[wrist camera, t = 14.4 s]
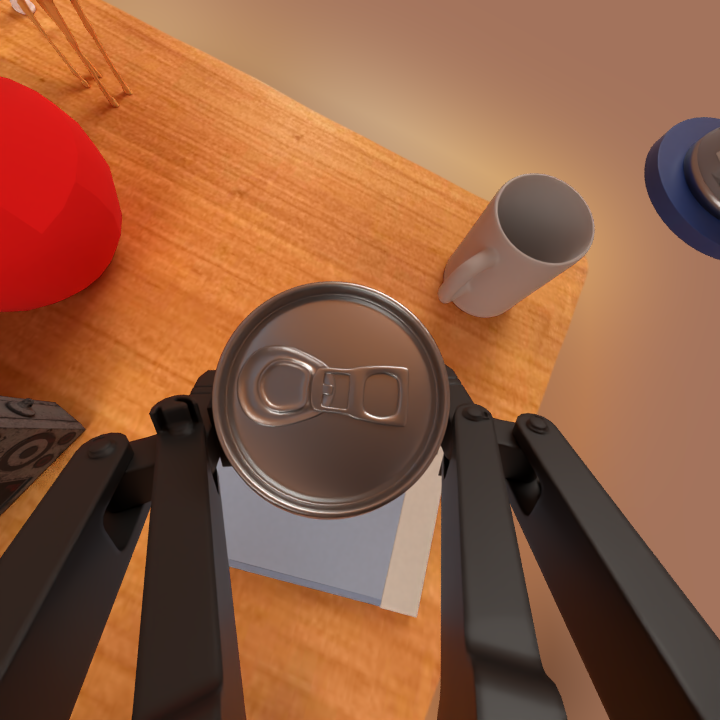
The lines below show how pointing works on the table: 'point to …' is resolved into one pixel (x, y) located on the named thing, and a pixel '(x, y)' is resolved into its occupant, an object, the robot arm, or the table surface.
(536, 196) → the mug
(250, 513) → the blue flat rectangular slab
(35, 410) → the camera
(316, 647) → the table surface
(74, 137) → the vase
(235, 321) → the table surface
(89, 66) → the giraffe
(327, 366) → the can
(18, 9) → the chess pawn
